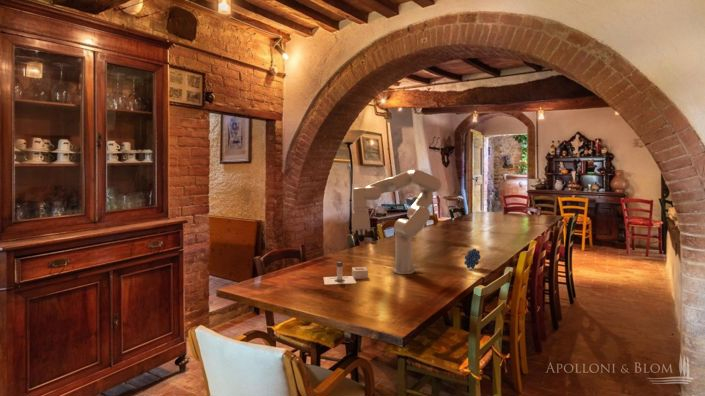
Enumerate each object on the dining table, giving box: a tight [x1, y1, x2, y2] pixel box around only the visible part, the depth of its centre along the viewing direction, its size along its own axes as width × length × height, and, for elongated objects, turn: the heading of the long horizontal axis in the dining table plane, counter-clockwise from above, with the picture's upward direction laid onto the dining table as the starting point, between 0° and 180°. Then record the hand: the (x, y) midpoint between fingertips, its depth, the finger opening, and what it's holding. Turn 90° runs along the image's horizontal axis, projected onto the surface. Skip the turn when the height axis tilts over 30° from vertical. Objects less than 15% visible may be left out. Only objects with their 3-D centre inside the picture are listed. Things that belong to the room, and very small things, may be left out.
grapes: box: [464, 248, 482, 269], centre depth 251 cm, size 12×7×12 cm, turn 112°
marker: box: [336, 261, 344, 281], centre depth 225 cm, size 3×3×10 cm
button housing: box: [351, 266, 369, 280], centre depth 234 cm, size 8×8×4 cm
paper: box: [323, 275, 357, 286], centre depth 227 cm, size 17×14×1 cm
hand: (361, 241), depth 234 cm, fingers closed
